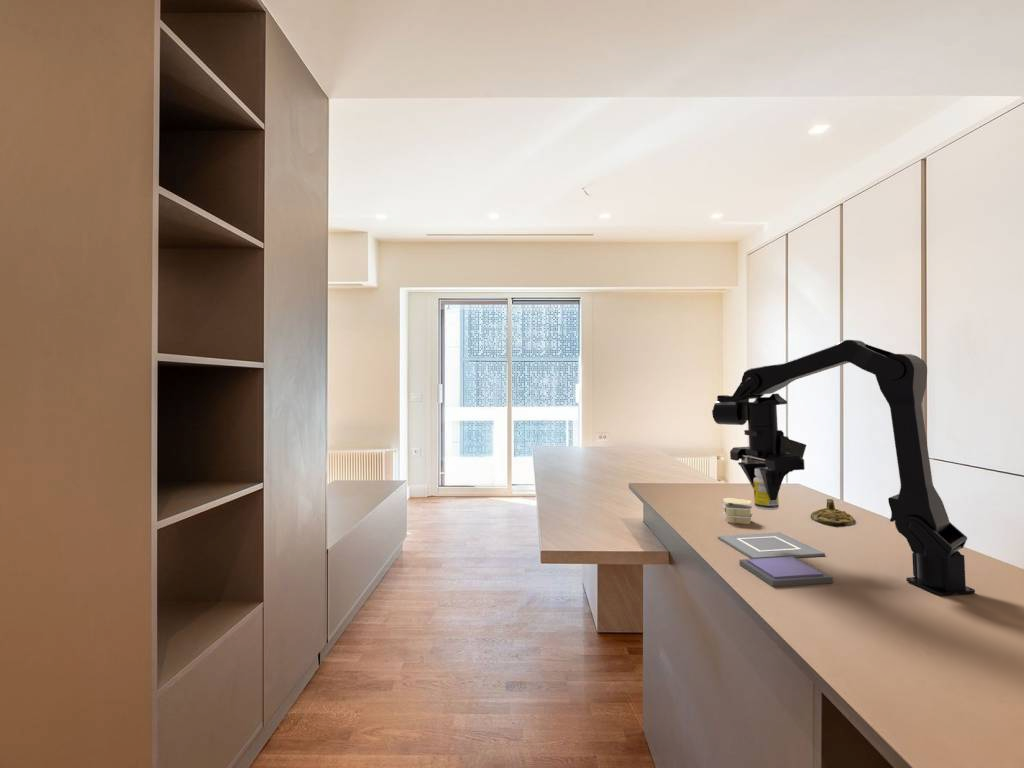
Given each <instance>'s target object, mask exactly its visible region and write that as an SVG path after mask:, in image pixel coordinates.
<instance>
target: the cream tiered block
mask: <svg viewBox="0 0 1024 768" xmlns="http://www.w3.org/2000/svg"><path fill="white" fill-rule="evenodd" d="M722 500H723V502H724V503H722V505H723V507H724V510H723V514H724V516H725V517H726V519H725V520H726V523H728V522H729V524H743V525H750V523H751V522H752V516H753V513H751V512H752V511H751V509H752V508H753V505H750V504H751V503H752V501H753V500H751V499H750V500H749V499H742V498H734V497H726V498H725V497H724V498H722Z"/></svg>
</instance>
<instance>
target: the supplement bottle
mask: <svg viewBox="0 0 1024 768" xmlns="http://www.w3.org/2000/svg"><path fill="white" fill-rule="evenodd" d="M755 476H756V477H755V478H754V479H753V484H754V489H753V499H754V500H753V501H754V507H755V508H756V509H757V510H763V511H775V510H778V509H779V507H780V506H779V505H780V503H779V501H780V500H779V495H778V496H777V499H776V500H770V498H769V495H768V493H767V490H766V487H765V484H764V481H763V478H762V475H761V472H760V468H755Z"/></svg>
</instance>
